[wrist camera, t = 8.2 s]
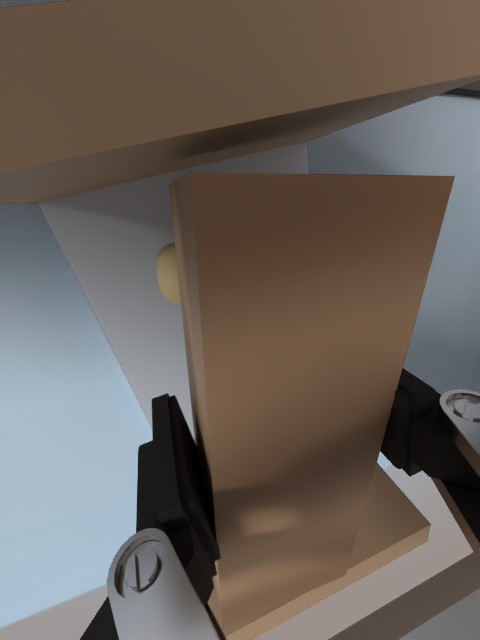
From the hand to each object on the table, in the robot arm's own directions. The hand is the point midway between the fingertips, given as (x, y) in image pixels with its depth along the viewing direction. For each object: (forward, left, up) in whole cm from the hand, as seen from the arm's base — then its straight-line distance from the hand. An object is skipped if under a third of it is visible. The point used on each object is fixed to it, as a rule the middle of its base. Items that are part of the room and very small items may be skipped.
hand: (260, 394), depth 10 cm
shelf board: (0, 0, -1) cm, 1 cm away
